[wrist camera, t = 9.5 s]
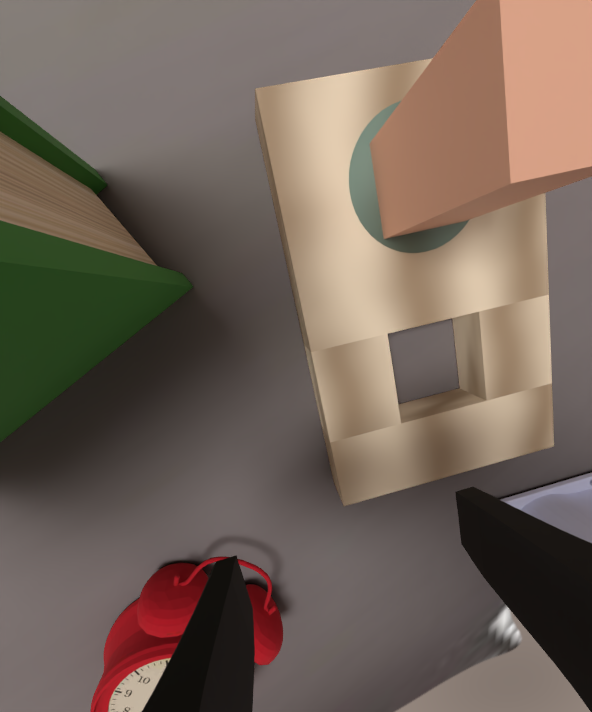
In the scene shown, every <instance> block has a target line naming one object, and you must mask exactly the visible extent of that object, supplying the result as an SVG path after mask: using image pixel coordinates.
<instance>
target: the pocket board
mask: <svg viewBox="0 0 592 712" xmlns="http://www.w3.org/2000/svg"><path fill="white" fill-rule="evenodd" d="M431 61H432V59H427V60H421V61H415V62H409V63H403V64H397V65H392V66H386V67H380V68H374V69H368V70H362V71H356V72H350V73H345V74H339V75H333V76H327V77H321V78H315V79H309V80H303V81H298V82H292V83H286V84H280V85H274V86H268V87H262V88H256V89H255V120H256V125H257V130H258V134H259V139H260V144H261V148H262V153H263V157H264V162H265V167H266V171H267V176H268V181H269V185H270V190H271V194H272V199H273V204H274V208H275V213H276V218H277V222H278V227H279V231H280V236H281V241H282V245H283V250H284V255H285V259H286V264H287V268H288V273H289V278H290V282H291V287H292V292H293V296H294V301H295V305H296V310H297V315H298V319H299V324H300V328H301V333H302V338H303V342H304V347H305V352H306V356H307V361H308V365H309V370H310V375H311V379H312V384H313V389H314V393H315V398H316V402H317V407H318V412H319V416H320V421H321V426H322V430H323V435H324V439H325V444H326V449H327V453H328V458H329V463H330V467H331V472H332V476H333V481H334V484H335V486H336V489H337V491H338V493H339V496H340V498H341V501H342V503H343V506H347V505H350V504H354V503H357V502H361V501H364V500H368V499H371V498H375V497H378V496H382V495H385V494H389V493H392V492H396V491H399V490H403V489H406V488H410V487H413V486H417V485H420V484H424V483H427V482H431V481H434V480H438V479H441V478H445V477H448V476H452V475H455V474H459V473H462V472H466V471H469V470H473V469H476V468H480V467H483V466H487V465H490V464H494V463H497V462H501V461H504V460H508V459H511V458H515V457H518V456H522V455H525V454H529V453H532V452H536V451H539V450H543V449H546V448H550V447H553V446H554V431H553V402H552V374H551V345H550V316H549V287H548V259H547V230H546V201H545V193H543V194H540V195H537V196H534V197H532V198H529V199H526V200H523V201H520V202H517V203H515V204H512V205H509V206H506V207H503V208H500V209H498V210H495V211H492V212H489V213H486V214H484V215H481V216H478V217H475V218H472V219H469V220H467V221H464V222H459V223H455V224H450V225H446V226H441V227H437V228H432V229H427V230H423V231H418V232H414V233H409V234H405V235H400V236H396V237H391V238H387V239H384V237H383V231H382V224H381V217H380V211H379V204H378V197H377V191H376V184H375V177H374V171H373V164H372V157H371V151H370V142H371V141H372V140H373V138H374V137H375V136H376V134H377V133H378V132H379V130H380V129H381V128H382V126H383V125H384V123H385V122H386V121H387V119H388V118H389V117H390V115H391V114H392V113H393V111H394V110H395V109H396V107H397V106H398V105H399V103H400V102H401V101H402V99H403V98H404V97H405V95H406V94H407V93H408V91H409V90H410V89H411V87H412V86H413V85H414V83H415V82H416V81H417V79H418V78H419V77H420V75H421V74H422V73H423V71H424V70H425V69H426V67H427V66H428V65H429V63H430V62H431ZM450 318H452V321H453V330H454V340H455V349H456V359H457V368H458V378H459V387H460V388H459V389H455V390H451V391H447V392H444V393H440V394H436V395H432V396H428V397H425V398H421V399H417V400H413V401H409V402H406V403H402V404H398V399H397V393H396V386H395V380H394V373H393V367H392V360H391V354H390V347H389V341H388V333H393V332H397V331H401V330H405V329H409V328H413V327H417V326H421V325H426V324H430V323H434V322H438V321H442V320H446V319H450Z"/></svg>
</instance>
